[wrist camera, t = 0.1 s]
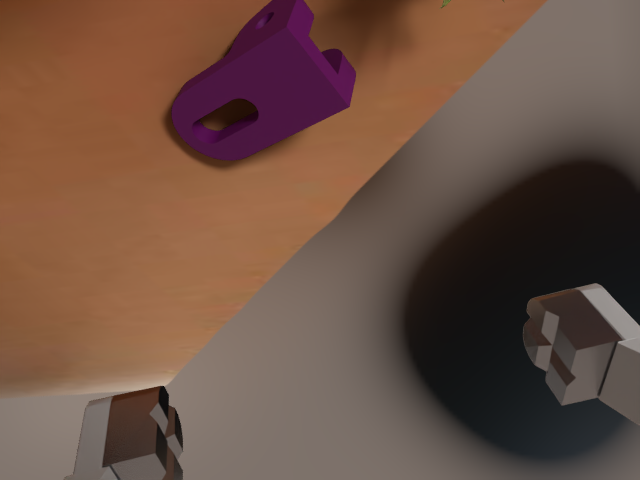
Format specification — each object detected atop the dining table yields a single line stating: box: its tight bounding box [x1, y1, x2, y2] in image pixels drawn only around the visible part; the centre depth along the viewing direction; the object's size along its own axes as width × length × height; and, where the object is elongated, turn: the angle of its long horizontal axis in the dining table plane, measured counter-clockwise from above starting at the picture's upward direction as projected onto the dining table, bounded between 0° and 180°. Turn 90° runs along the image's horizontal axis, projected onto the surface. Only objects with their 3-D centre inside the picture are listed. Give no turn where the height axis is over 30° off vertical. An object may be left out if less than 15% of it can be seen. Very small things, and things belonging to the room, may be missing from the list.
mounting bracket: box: [172, 0, 356, 160], centre depth 55 cm, size 9×8×18 cm
